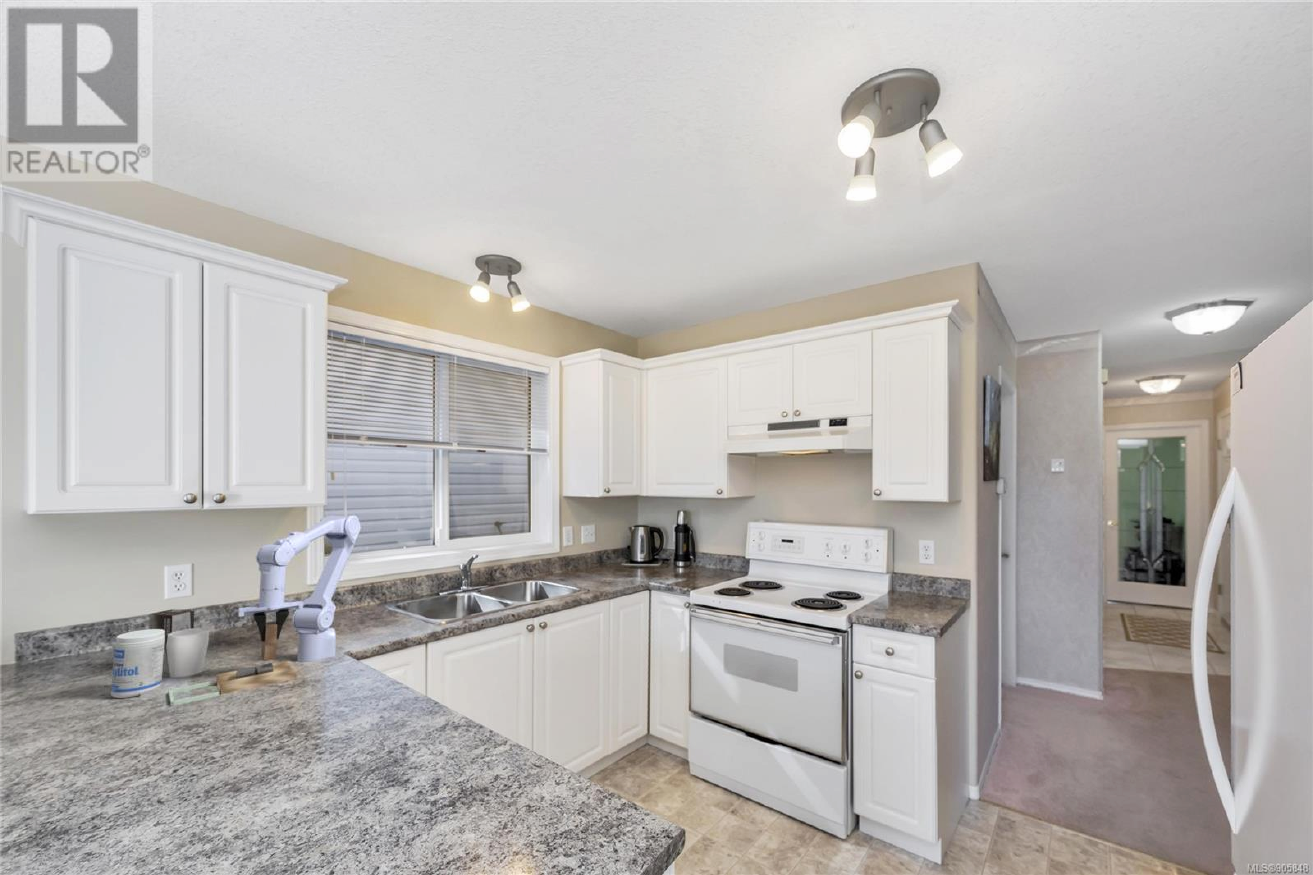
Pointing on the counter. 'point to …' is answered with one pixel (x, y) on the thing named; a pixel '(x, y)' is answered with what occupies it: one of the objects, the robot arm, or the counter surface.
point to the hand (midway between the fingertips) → (269, 639)
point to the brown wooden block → (269, 641)
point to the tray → (191, 697)
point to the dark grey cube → (245, 672)
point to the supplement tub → (137, 662)
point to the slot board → (255, 678)
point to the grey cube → (263, 668)
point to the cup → (187, 651)
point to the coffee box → (171, 626)
